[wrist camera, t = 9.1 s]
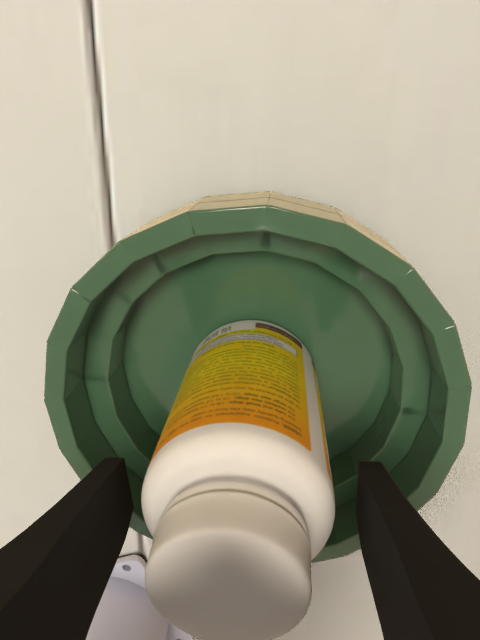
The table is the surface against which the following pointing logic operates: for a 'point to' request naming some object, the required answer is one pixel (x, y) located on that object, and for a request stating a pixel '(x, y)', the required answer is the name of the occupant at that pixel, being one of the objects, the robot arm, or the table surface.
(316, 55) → the table surface
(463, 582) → the robot arm
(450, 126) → the table surface
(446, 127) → the table surface
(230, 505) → the supplement bottle
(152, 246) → the bowl
